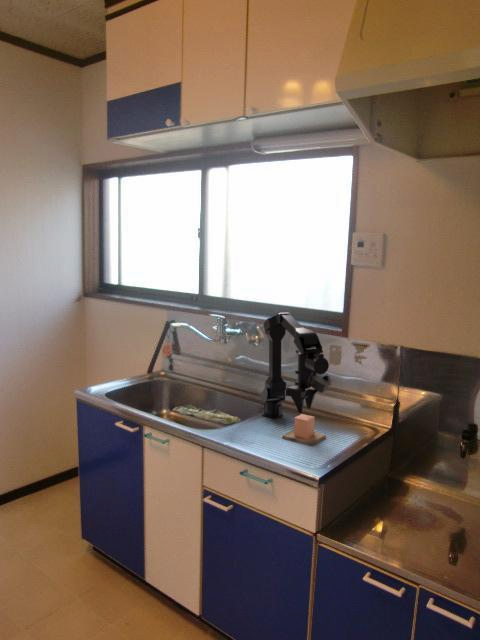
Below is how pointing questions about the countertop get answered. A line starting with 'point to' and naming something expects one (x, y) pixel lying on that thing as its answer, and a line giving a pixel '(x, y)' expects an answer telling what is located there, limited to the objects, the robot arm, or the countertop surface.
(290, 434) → the stand
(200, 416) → the stone wall
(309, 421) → the salmon orange block
